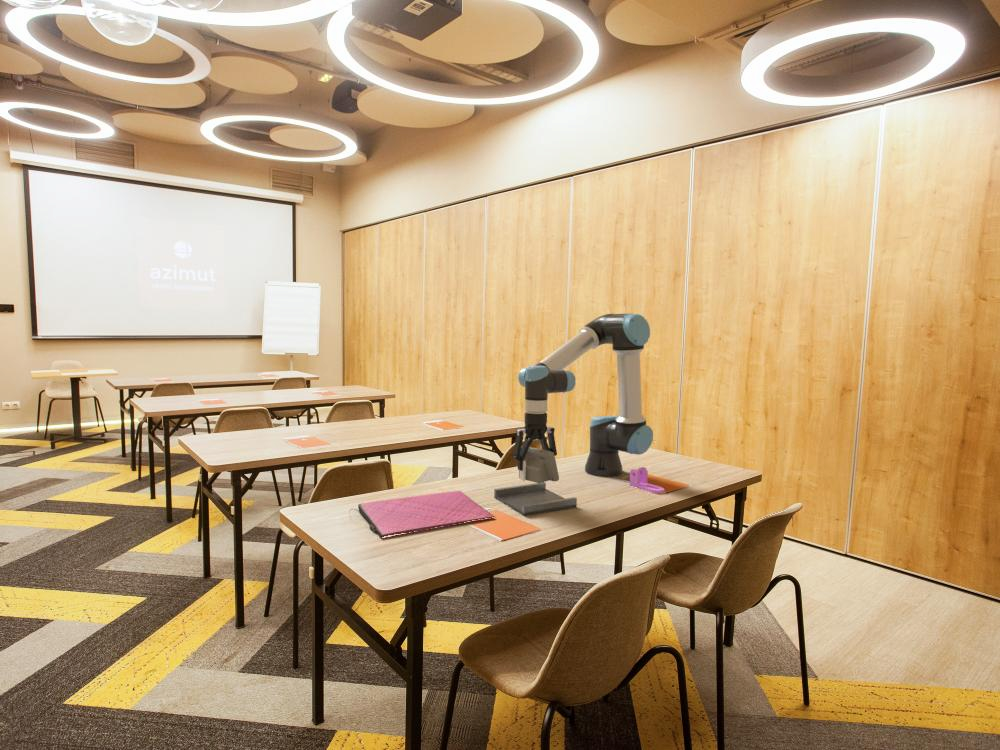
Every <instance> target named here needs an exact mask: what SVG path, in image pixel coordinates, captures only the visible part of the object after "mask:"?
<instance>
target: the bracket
mask: <svg viewBox="0 0 1000 750" xmlns="http://www.w3.org/2000/svg"><path fill="white" fill-rule="evenodd" d="M648 474H649V472H648V469H647V468H646V467H644V466H641V467H639V468H633V469H631V470H630V472H629V487H631V486H634V487H637V488H640V489H639V490H641V489H643V490H642V491H644V490H646V491H645V492H647V491H649V492H648V493H650V492H652V493H651V494H654V493H663V492H664V493H665V488H664V487H662V486H660V485H656V484H653V483H649V481H648V477H649V476H648ZM634 487H633V488H634ZM637 488H636V489H637ZM664 493H663V494H664Z"/></svg>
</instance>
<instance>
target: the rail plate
mask: <svg viewBox="0 0 1000 750" xmlns="http://www.w3.org/2000/svg"><path fill="white" fill-rule="evenodd" d="M546 484H547V483H546V482H543V483H536V482H533V483H528V484H520V485H514V486H506V487H499V488H494V491H493V493H494V494H493V496H494V497H493V498H495V499H496V500H498V501H499V502H501V503H502V502H503V503H502V504H504V505H506V506H507V505H508V506H507V507H509V508H510V507H511V508H510V509H512V510H513V511H515V512H517V513H518V512H519V514H520V515H522V516H524V517H528V516H532V515H533V514H534V515H538V514H539V513H540V514H545V513H544V512H546V513H550V512H557V511H563V510H567V509H574V508H577V506H578V505H577V504H578V503H577V502H578V499H577V497H576V496H573V497H567V498H565V497H563V496H561V495H560V494H557V493H555V492H553V491H551V490H549V489H547V487H546ZM527 515H528V516H527Z"/></svg>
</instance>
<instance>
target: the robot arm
mask: <svg viewBox="0 0 1000 750" xmlns="http://www.w3.org/2000/svg"><path fill="white" fill-rule="evenodd" d="M650 336H651V329H650V324H649V322H648V320H647V319H646V318H645V316H643V315H642V314H638V313H637V314H636V313H630V312H629V313H607V314H602V315H600V316H599V317H597V318H594V319H593V320H591V321H589V322H588V323H587V324H585V325H584V326H582V327H581V328H580V329H579V331H578V333H577V334H576V335H575V336H573V337H572V338H571V339H569V340H568V341H566V342H565V343H564V344H562V345H560V347H558V348H557V349H555V350H554V351H553V352H551V353H550V354H549V355H547V356H546V357H544V358H543V359H542V360H541V361H539V362H538V363H535V365H528V366H526V367H522V368H521V369H520V370H519V373H518V376H517V379H518V382H519V384H520V386H522V387H523V388H525V389H524V392H525V393H524V394H525V395H524V397H525V398H524V411H525V413H524V428H522V429H521V428H520V429H519V428H518V429H516V430H515V434H516V436H515V437H516V438H515V443H514V448H513V452H512V459H514V460H516V461H517V470H518V471H519V470H520V478H519V480H521V481H524V482H525V481H526V480H525V477H526V461H524V458H525V456H526V454H527V451H528V449H529V447H530V448H531V444H532V443H533V441H536V440H537V441H539V443H540V445H541V447H542V450H546V451H551V452H553V453H554V455H555V457H556V456H557V455H558V450H557V446H556V439H555V438H556V437H555V429H556V428H554V427H552V426H548V425H547V423H548V413H547V412H548V397H549V396H548V395H549V394H557V393H559V394H561V393H564V394H565V393H568V392H571V391H573V390H574V389H575V387H576V376H575V374H574V373H573V371H571V370H564V369H566V368H567V367H569V366H570V365H571V364H572V363H574V362H576V360H578V359H579V358H580V357H582V356H583V355H585V354H586V353H587V352H588V351H590V350H591V349H596V348H598V347H599V346H601V345H606V344H607V345H612V351H613V353H615V354H616V368H617V391H618V393H617V394H618V415H602V416H601V415H598V416H594V417H592V418H591V420H590V426H589V453H588V456H587V459H586V462H585V464H584V471H585V473H587V474H590V475H593V476H599V477H614V476H615V477H617V476H620V475H622V474H623V466H622V462H621V458H620V454H619V452H625V453H627V454H630V455H637V456H638V455H642V454H645V453H646V452H648V450H649V449H650V447H651V445H652V443H653V441H654V431H653V429H652V427H650V426H649V425H647V417H646V416H644V415H643V413H642V411H643V410H642V382H641V380H642V379H641V378H642V377H641V376H642V374H641V352H642V351H644V349H645V348H644V347H645V345H646V344H647V343H648V342H649V339H650ZM545 434H547V435H545ZM524 436H525V437H524ZM546 436H547V438H546ZM523 440H524V441H523ZM521 447H522V448H521Z"/></svg>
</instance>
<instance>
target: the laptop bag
mask: <svg viewBox="0 0 1000 750" xmlns="http://www.w3.org/2000/svg"><path fill="white" fill-rule="evenodd" d="M358 509H359V510H358ZM351 510H356V511H358V512H359V511H360V512H361V513H360V512H359V513H360V514H361V515H362V517H363V518H364V517H365V518H364V519H365V520H366V521H367V522H368V524H369V529H370V528H371V529H372V530H373V532H374V531H375V533H377V535H378V536H379V535H380V536H379V537H380V539H382V537H384V536H388V535H394V534H401V533H409V532H414V531H421V530H426V529H431V528H435V527H441V526H447V527H449V526H448V525H453V524H459V523H464V522H467V521H472V520H478V519H485V518H492V517H495V518H496V515H495V516H494V515H493V514H492V513H490V512H489V511H488V510H486V509H485V508H483V507H482V506H481V505H480V504H478V503H476V502H475V501H474V500H473V499H471V498H470V497H469V496H468V495H466V493H464V492H463V491H461V490H452V491H444V492H437V493H436V492H435V493H429V494H422V495H421V494H420V495H415V496H414V495H413V496H405V497H399V498H397V497H396V498H391V499H385V500H376V501H369V502H364V503H363V502H362V503H359V504H358V507H357V509H356V508H350V510H349V511H348V514H349V516H351V515H350V512H351ZM459 525H460V524H459ZM453 526H454V525H453ZM371 529H370V530H371ZM372 530H371V531H372ZM431 530H432V529H431ZM426 531H427V530H426ZM421 532H422V531H421Z"/></svg>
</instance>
